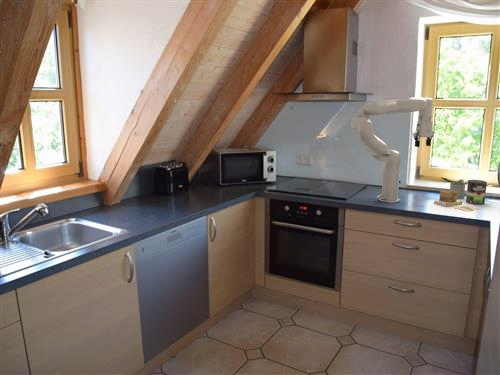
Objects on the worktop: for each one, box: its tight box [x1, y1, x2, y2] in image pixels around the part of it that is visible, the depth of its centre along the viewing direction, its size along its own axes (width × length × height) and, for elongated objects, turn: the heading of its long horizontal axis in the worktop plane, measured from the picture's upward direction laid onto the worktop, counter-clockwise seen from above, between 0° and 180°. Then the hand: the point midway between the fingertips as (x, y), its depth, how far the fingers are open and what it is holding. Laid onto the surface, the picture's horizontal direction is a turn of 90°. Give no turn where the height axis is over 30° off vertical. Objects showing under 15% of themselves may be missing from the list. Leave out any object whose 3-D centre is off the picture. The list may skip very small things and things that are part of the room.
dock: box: [433, 199, 463, 208], centre depth 254 cm, size 13×9×3 cm
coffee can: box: [465, 179, 488, 205], centre depth 256 cm, size 10×10×14 cm
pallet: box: [454, 205, 480, 213], centre depth 243 cm, size 11×9×1 cm
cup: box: [449, 181, 466, 200], centre depth 269 cm, size 8×8×10 cm
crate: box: [438, 189, 458, 203], centre depth 253 cm, size 6×7×6 cm
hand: (422, 146), depth 266 cm, fingers open, 9 cm apart
